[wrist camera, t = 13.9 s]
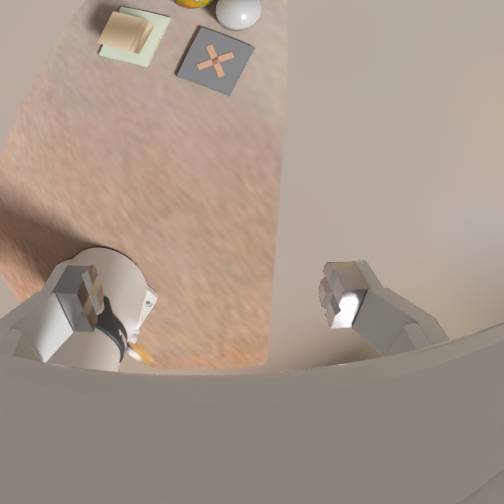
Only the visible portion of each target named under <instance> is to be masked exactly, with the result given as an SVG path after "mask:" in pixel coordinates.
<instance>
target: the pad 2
mask: <svg viewBox="0 0 504 504" xmlns="http://www.w3.org/2000/svg"><path fill="white" fill-rule="evenodd" d="M254 49H255V48H254V47H252V46H250V45H247V44H245V43H242V42H240V41H238V40H235V39H233V38H230V37H227V36H225V35H222V34H220V33H217V32H214V31H211V30H208V29H206V28H203V27H201V29H200V30H199V32H198V34H197V36H196V38H195V40H194V42H193V44H192V45H191V47H190V49H189V51H188V53H187V55H186V57H185V59H184V62H183V64H182V66H181V68H180V70H179V72H178V74H177V77H180V78H183V79H186V80H189V81H191V82H194V83H197V84H200V85H202V86H205V87H208V88H210V89H213V90H216V91H218V92H221V93H223V94H226V95H228V96H230V94H231V92H232V90H233V88H234V87H235V85H236V83H237V81H238V79H239V77H240V75H241V73H242V71H243V69H244V67H245V65H246V64H247V62H248V60H249V58H250V56H251V54H252V53H253V51H254Z"/></svg>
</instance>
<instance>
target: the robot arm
mask: <svg viewBox="0 0 504 504" xmlns="http://www.w3.org/2000/svg"><path fill="white" fill-rule="evenodd" d="M323 272H324V275H325V277H324V278H323V279H322V280H321V281H320V286H319V299H320V303H321V306H322V307H324V308H325V309H326V310H327V311H326V314H325V316H326V318H327V321H328V323H329V326H330V328H331V329H333V328H344V327H352V329H353V330H354V331H356V332H357V333H358V334H359V335H360V336H361V337H362V338H363V339H365V340H366V341H367V342H368V343H369V344H370V345H371V346H372V347H373V348H375V350H377V351H378V352H379V353H380V354H381V355H382V356H383V357H380V358H374V359H369V360H363V361H358V362H352V363H346V364H339V365H333V366H326V367H318V368H310V369H302V370H294V371H282V372H271V373H257V374H240V375H239V374H238V375H198V376H197V375H195V376H194V375H155V374H136V373H123V372H118V367H119V363H120V362H121V361H122V359H123V356H124V354H125V351H126V347H127V346H126V345H127V342H131V343H133V344H134V343H136V341H137V338H138V334H139V331H140V326H141V324H142V322H143V321H144V319H145V318H146V316H147V315H148V313H149V312H150V310H151V309H152V307H153V306H154V304H155V303H156V301H157V298H158V295H157V293H156V292H155V291H154V290H153V289H152V288H151V287H150V286H149V285H148V284H147V283H146V281H145V279H144V276H143V274H142V273H141V271H140V270H139V268H138V267H137V266H136V265H135V264H134V263H133V262H132V261H131V260H130V259H128V258H127V257H126V256H124V255H122V254H120V253H118V252H116V251H114V250H110V249H106V248H89V249H86V250H84V251H82V252H80V253H79V254H78V255H76V256H75V257H74V258H73V259H70V260H65V261H62V262H61V263H60V264H58V265H56V267H55V268H54V270H53V272H52V273H51V275H50V277H49V278H48V280H47V282H46V283H45V285H44V287H43V289H42V290H41V292H37V293H35V294H34V295H32V296H31V297H30V298H28V299H27V300H25V301H24V302H23V303H21V304H20V305H19V306H17V307H16V308H15V309H13V310H12V311H11V312H9V313H8V314H7V315H5V316H4V317H3V318H1V319H0V504H504V322H502V323H500V324H497V325H494V326H492V327H489V328H486V329H484V330H480V331H477V332H475V333H472V334H468V335H465V336H462V337H459V338H456V339H452V340H449V338H448V337H447V335H446V334H445V332H444V330H443V329H442V327H441V326H440V324H439V322H438V321H437V319H436V318H435V317H433V316H432V315H430V314H429V313H427V312H425V311H424V310H422V309H421V308H419V307H417V306H416V305H414V304H413V303H411V302H409V301H408V300H406V299H405V298H403V297H401V296H400V295H398V294H397V293H395V292H393V291H392V290H390V289H388V288H384V287H383V286H382V284H381V283H380V281H379V280H378V279H377V277H376V275H375V274H374V272H373V271H372V269H371V268H370V266H369V265H368V263H367V262H366V261H364V260H362V261H351V262H327V263H326V264H325V266H324V270H323ZM148 301H149V302H148Z"/></svg>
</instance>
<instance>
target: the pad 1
mask: <svg viewBox="0 0 504 504" xmlns="http://www.w3.org/2000/svg"><path fill="white" fill-rule="evenodd" d="M119 13H123V14H127V15H131V16H135V17H139V18H143V19H145V20H147V21H148V22H149V23H151V24H152V25H153V26H154V28H153V30H152V31H151V33H150V35H149V37H148V39H147V41H146V42H145V44H144V46H143V48H142V50H141V52H140V54H137V53H133V52H129V51H125V50H121V49H118V48H114V47H111V46H107V45H103V46H102V48H101V51H100V53H99V55H100V56H105V57H109V58H114V59H118V60H122V61H126V62H130V63H134V64H137V65H141V66H144V67H148V66H149V64H150V62H151V59H152V57H153V55H154V53H155V51H156V49H157V47H158V44H159V42H160V40H161V38H162V36H163V34H164V32H165V30H166V29H167V27H168V25H169V23H170V21H171V18H170V17H166V16H162V15H158V14H154V13H150V12H145V11H141V10H136V9H131V8H125V7H121V8H120V10H119Z"/></svg>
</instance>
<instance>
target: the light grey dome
mask: <svg viewBox="0 0 504 504" xmlns="http://www.w3.org/2000/svg"><path fill="white" fill-rule="evenodd" d="M260 14H261V4H260V2H259V0H219V1H218V3H217V5H216V17H217V20H218V22H219V24H220V25H221V26H223V27H224V28H226V29H228V30H231V31H243V30H246V29H248V28H250V27H251V26H253V25H254V23H255V22H256V21H257V19H258V18H259V16H260Z"/></svg>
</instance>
